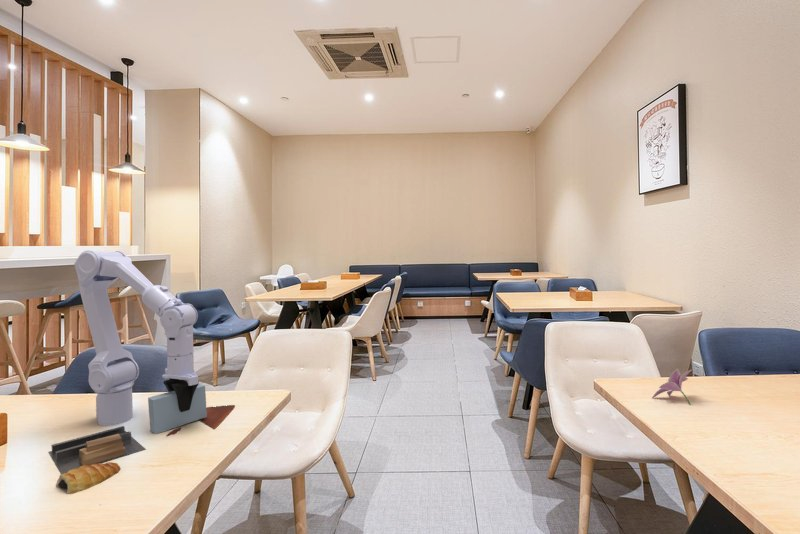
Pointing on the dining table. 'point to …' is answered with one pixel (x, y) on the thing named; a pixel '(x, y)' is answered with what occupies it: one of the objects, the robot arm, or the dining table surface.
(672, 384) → the lily
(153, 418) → the pale blue upright panel
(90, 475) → the pastry
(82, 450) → the offcuts
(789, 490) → the dining table surface
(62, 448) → the metal plate
